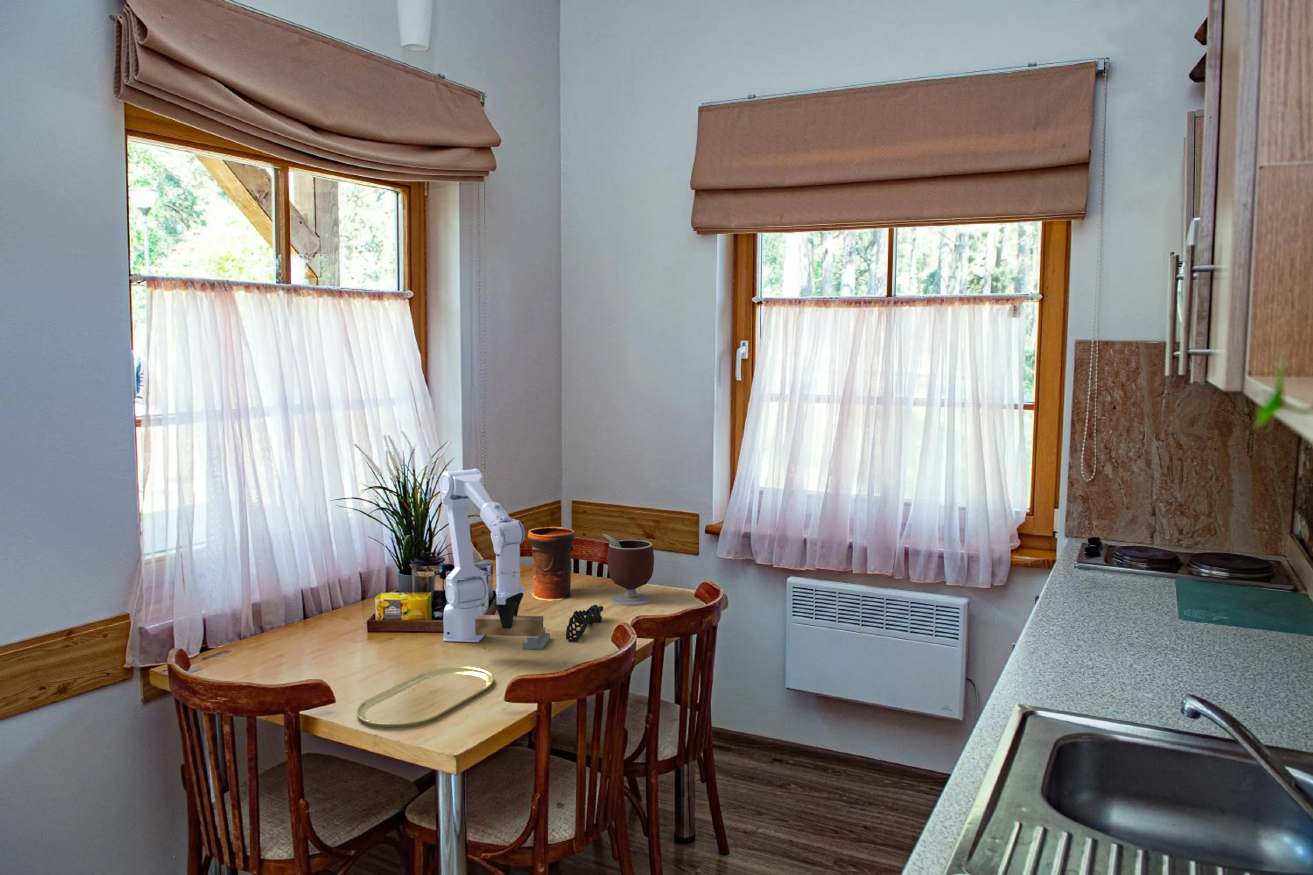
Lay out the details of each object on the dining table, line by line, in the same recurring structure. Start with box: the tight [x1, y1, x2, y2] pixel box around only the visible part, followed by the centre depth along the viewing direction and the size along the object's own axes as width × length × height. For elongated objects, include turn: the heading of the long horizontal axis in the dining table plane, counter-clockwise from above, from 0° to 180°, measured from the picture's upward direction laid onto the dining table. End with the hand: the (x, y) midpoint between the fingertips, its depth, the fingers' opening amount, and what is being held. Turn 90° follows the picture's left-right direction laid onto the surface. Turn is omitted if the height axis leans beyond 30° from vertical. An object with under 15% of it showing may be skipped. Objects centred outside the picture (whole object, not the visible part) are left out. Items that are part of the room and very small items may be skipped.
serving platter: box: [356, 666, 494, 729], centre depth 208 cm, size 19×35×2 cm, turn 155°
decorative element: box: [565, 604, 604, 643], centre depth 256 cm, size 22×5×6 cm, turn 166°
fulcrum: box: [522, 626, 551, 650], centre depth 245 cm, size 5×9×3 cm, turn 174°
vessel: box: [527, 526, 576, 602], centre depth 291 cm, size 14×14×20 cm
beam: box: [475, 614, 544, 637], centre depth 232 cm, size 16×4×4 cm, turn 84°
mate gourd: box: [602, 533, 655, 607], centre depth 285 cm, size 16×14×20 cm
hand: (509, 625), depth 232 cm, fingers closed on beam, 3 cm apart
